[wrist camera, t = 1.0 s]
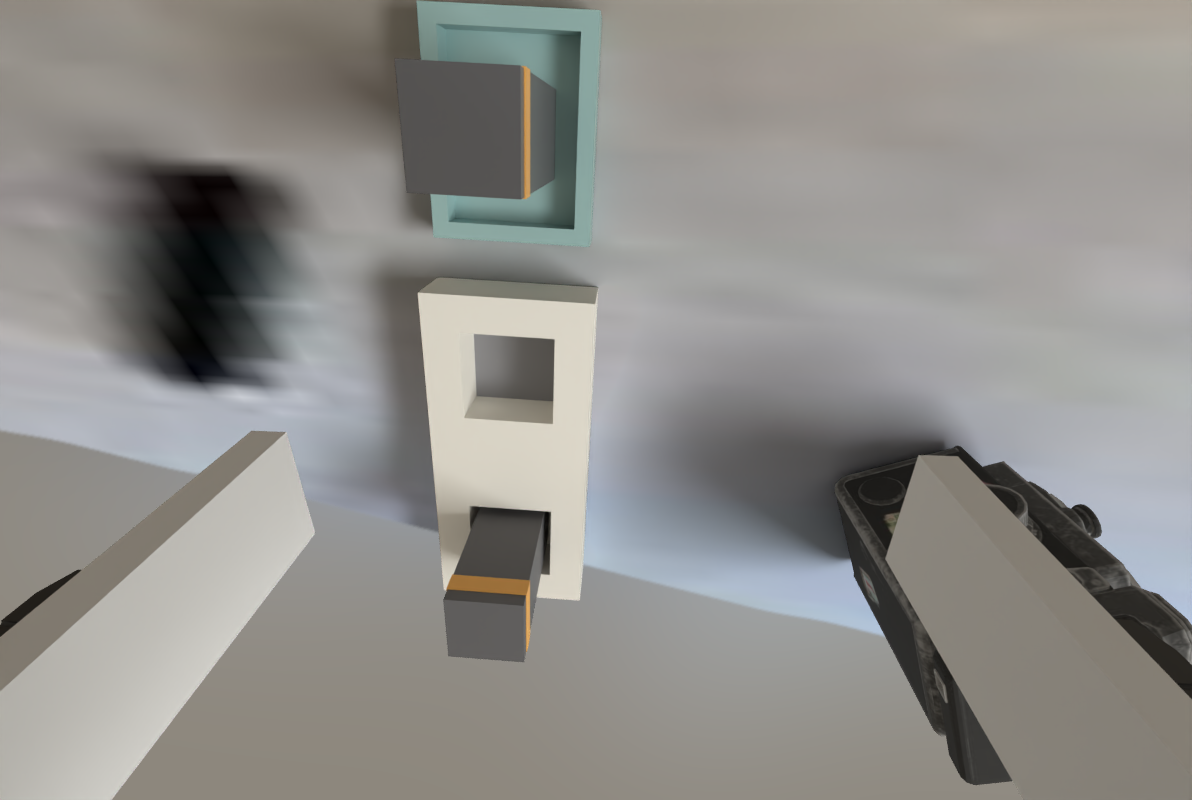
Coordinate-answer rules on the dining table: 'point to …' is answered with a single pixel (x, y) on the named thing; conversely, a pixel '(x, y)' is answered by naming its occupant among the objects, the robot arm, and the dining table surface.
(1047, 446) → the dining table surface
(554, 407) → the battery charger
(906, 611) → the camera
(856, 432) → the dining table surface
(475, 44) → the tray
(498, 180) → the plug
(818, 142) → the dining table surface
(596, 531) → the dining table surface
